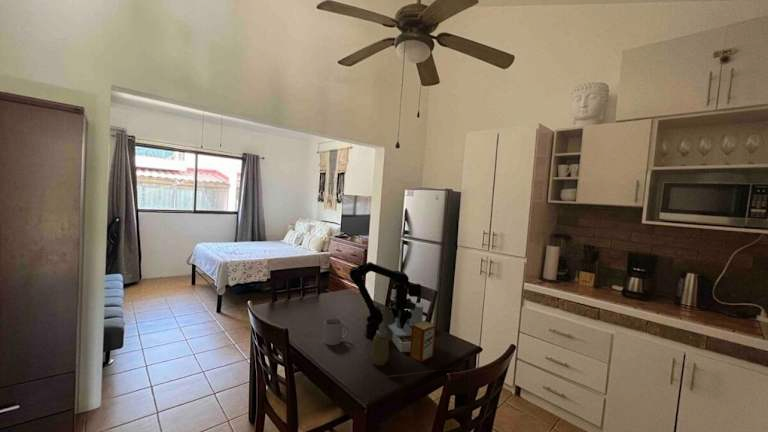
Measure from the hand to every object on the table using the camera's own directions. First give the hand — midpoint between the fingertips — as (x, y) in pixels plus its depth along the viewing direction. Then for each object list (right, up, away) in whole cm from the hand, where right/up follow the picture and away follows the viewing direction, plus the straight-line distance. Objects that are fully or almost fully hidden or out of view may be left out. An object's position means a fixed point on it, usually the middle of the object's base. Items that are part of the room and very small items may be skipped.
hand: (398, 324), depth 165 cm
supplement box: (+11, -7, +17) cm, 21 cm away
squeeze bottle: (-10, -8, -28) cm, 30 cm away
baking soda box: (+10, -9, -20) cm, 24 cm away
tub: (+3, -7, -10) cm, 13 cm away
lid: (+1, -2, -3) cm, 4 cm away
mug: (-33, -5, -10) cm, 35 cm away
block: (+3, -7, -8) cm, 11 cm away
